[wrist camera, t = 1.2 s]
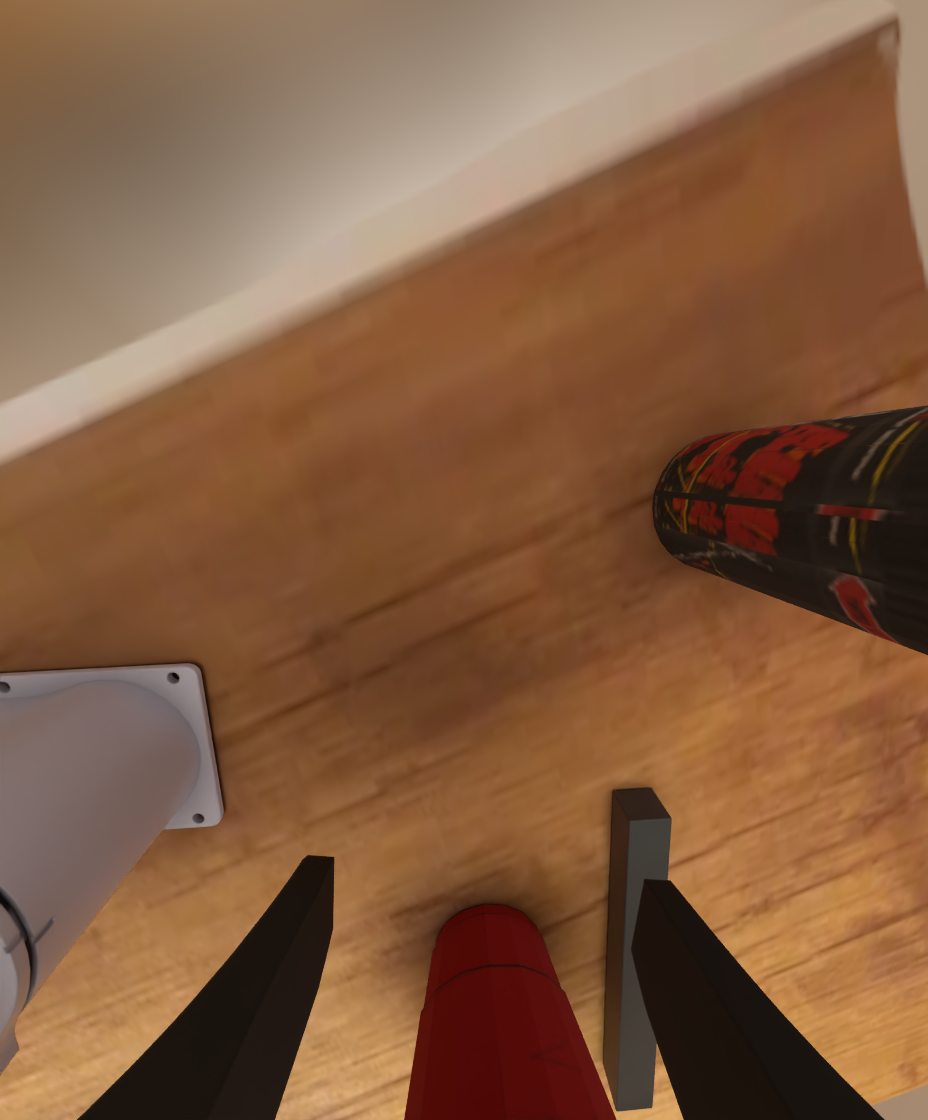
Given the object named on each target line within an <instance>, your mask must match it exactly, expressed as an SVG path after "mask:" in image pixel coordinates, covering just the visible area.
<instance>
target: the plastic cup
mask: <svg viewBox="0 0 928 1120" xmlns="http://www.w3.org/2000/svg"><path fill="white" fill-rule="evenodd" d="M404 1120H616V1117H615V1115H614V1112H613V1110H612V1108H611V1105H610V1103H609V1100H608V1098H607V1095H606V1093H605V1090H604V1088H603V1085H602V1083H601V1080H600V1078H599V1075H598V1073H597V1070H596V1068H595V1065H594V1063H593V1060H592V1058H591V1055H590V1053H589V1050H588V1048H587V1045H586V1043H585V1040H584V1038H583V1035H582V1033H581V1030H580V1028H579V1025H578V1023H577V1020H576V1018H575V1016H574V1013H573V1011H572V1008H571V1006H570V1003H569V1001H568V998H567V996H566V993H565V992H564V991H563V990H562V989H561V986H560V983H559V981H558V978H557V975H556V973H555V970H554V967H553V965H552V962H551V959H550V957H549V954H548V951H547V949H546V946H545V943H544V941H543V938H542V936H541V935H540V934H539V933H538V930H537V927H536V925H535V924H534V923H533V922H532V921H531V920H530V919H529V918H528V917H527V916H526V915H525V914H524V913H523V912H520V911H518V910H515V909H513V908H510V907H508V906H505V905H485V904H483V905H480V906H477V907H473V908H470V909H467V910H463V911H462V912H460V913H459V914H458V915H456V916H455V917H454V918H452V919H451V920H449V921H448V922H447V923H446V924H445V926H444V927H443V929H442V931H441V932H440V934H439V935H438V937H437V940H436V946H435V948H434V950H433V952H432V959H431V965H430V972H429V978H428V985H427V991H426V997H425V1004H424V1008H423V1010H422V1011H421V1015H420V1022H419V1028H418V1035H417V1041H416V1047H415V1054H414V1060H413V1067H412V1073H411V1080H410V1086H409V1092H408V1099H407V1105H406V1112H405V1118H404Z"/></svg>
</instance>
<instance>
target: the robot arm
mask: <svg viewBox="0 0 928 1120" xmlns="http://www.w3.org/2000/svg"><path fill="white" fill-rule="evenodd" d="M172 672H173V673H176V674H178V676H179V678H180V679H179V680H178V679H175V678H174V677H173V675H172ZM6 683H7V684H9V686H10V688H9V687H8V686H7V684H6ZM198 814H201V815H203V817H200V816H199V815H198ZM223 815H224V808H223V802H222V796H221V790H220V784H219V778H218V772H217V766H216V760H215V754H214V748H213V742H212V736H211V729H210V723H209V717H208V711H207V705H206V699H205V693H204V687H203V681H202V675H201V671H200V669H199V668H198V667H197V666H196V665H194V664H190V663H183V664H165V665H146V666H127V667H109V668H90V669H72V670H53V671H34V672H16V673H0V1075H1V1074H2V1072H3V1071H4V1069H5V1068H6V1067H7V1065H8V1064H9V1063H10V1061H11V1060H12V1058H13V1057H14V1056H15V1054H16V1053H17V1052H18V1050H19V1046H18V1043H17V1040H16V1037H15V1024H16V1021H17V1019H18V1017H19V1015H20V1014H21V1012H22V1011H23V1010H24V1008H25V1007H26V1006H27V1005H28V1003H29V1002H30V1001H31V999H32V998H33V997H34V995H35V994H36V993H37V992H38V990H39V989H40V988H41V986H42V985H43V984H44V983H45V981H46V980H47V979H48V977H49V976H50V975H51V974H52V972H53V971H54V970H55V968H56V967H57V966H58V965H59V963H60V962H61V961H62V959H63V958H64V957H65V955H66V954H67V953H68V952H69V950H70V949H71V948H72V946H73V945H74V944H75V943H76V941H77V940H78V939H79V937H80V936H81V935H82V934H83V932H84V931H85V930H86V928H87V927H88V926H89V924H90V923H91V922H92V921H93V919H94V918H95V917H96V915H97V914H98V913H99V912H100V910H101V909H102V908H103V906H104V905H105V904H106V903H107V901H108V900H109V899H110V897H111V896H112V895H113V893H114V892H115V891H116V890H117V888H118V887H119V886H120V884H121V883H122V882H123V881H124V879H125V878H126V877H127V875H128V874H129V873H130V872H131V870H132V869H133V868H134V866H135V865H136V864H137V863H138V861H139V860H140V859H141V857H142V856H143V855H144V853H145V852H146V851H147V850H148V848H149V847H150V846H151V844H152V843H153V842H154V841H155V839H156V838H157V837H158V835H159V834H160V833H161V832H162V830H166V829H180V828H194V827H209V826H215V825H217V824H218V823H219V822H220V820H221V819H222V817H223ZM333 902H334V857H326V856H312V855H308V856H306V857H305V858H304V859H303V860H302V861H301V863H300V864H299V866H298V867H297V869H296V870H295V872H294V873H293V875H292V876H291V877H290V879H289V880H288V882H287V883H286V885H285V886H284V887H283V889H282V890H281V891H280V893H279V894H278V896H277V897H276V898H275V900H274V901H273V902H272V904H271V905H270V906H269V908H268V909H267V910H266V912H265V913H264V914H263V916H262V917H261V918H260V919H259V921H258V922H257V923H256V925H255V926H254V927H253V928H252V930H251V931H250V932H249V933H248V935H247V936H246V937H245V938H244V940H243V941H242V942H241V944H240V945H239V946H238V947H237V949H236V950H235V951H234V952H233V954H232V955H231V956H230V957H229V958H228V960H227V961H226V962H225V963H224V964H223V965H222V967H221V968H220V969H219V970H218V971H217V972H216V974H215V975H214V976H213V977H212V978H211V980H210V981H209V982H208V983H207V984H206V985H205V987H204V988H203V989H202V990H201V991H200V992H199V994H198V995H197V996H196V997H195V998H194V999H193V1001H192V1002H191V1003H190V1004H189V1005H188V1006H187V1007H186V1008H185V1009H184V1011H183V1012H182V1013H181V1014H180V1015H179V1016H178V1017H177V1018H176V1019H175V1021H174V1022H173V1023H172V1024H171V1025H170V1026H169V1027H168V1028H167V1029H166V1030H165V1031H164V1032H163V1034H162V1035H161V1036H160V1037H159V1038H158V1039H157V1040H156V1041H155V1042H154V1043H153V1044H152V1045H151V1046H150V1047H149V1048H148V1049H147V1050H146V1051H145V1052H144V1054H143V1055H142V1056H141V1057H140V1058H139V1059H138V1060H137V1061H136V1062H135V1063H134V1064H133V1065H132V1066H131V1067H130V1068H129V1069H128V1070H127V1071H126V1072H125V1073H124V1074H123V1075H122V1076H121V1077H120V1078H119V1079H118V1080H117V1081H116V1082H115V1083H114V1084H113V1085H112V1086H111V1087H110V1088H109V1089H108V1090H107V1091H106V1092H105V1093H104V1094H103V1095H102V1096H101V1097H100V1098H99V1099H98V1100H97V1101H96V1102H95V1103H94V1104H93V1105H92V1106H91V1107H90V1108H89V1109H88V1110H87V1111H86V1112H85V1113H84V1114H82V1115H81V1116H80V1117H79V1118H78V1119H77V1120H275V1118H276V1115H277V1112H278V1109H279V1106H280V1103H281V1100H282V1097H283V1094H284V1091H285V1088H286V1085H287V1082H288V1079H289V1076H290V1073H291V1070H292V1067H293V1064H294V1061H295V1058H296V1055H297V1052H298V1049H299V1046H300V1043H301V1040H302V1037H303V1034H304V1031H305V1028H306V1025H307V1022H308V1019H309V1016H310V1012H311V1009H312V1006H313V1003H314V1000H315V997H316V994H317V991H318V988H319V984H320V980H321V976H322V972H323V968H324V964H325V960H326V956H327V952H328V948H329V944H330V939H331V935H332V931H333ZM631 952H632V956H633V961H634V965H635V969H636V973H637V977H638V982H639V985H640V989H641V993H642V997H643V1001H644V1005H645V1009H646V1012H647V1015H648V1018H649V1021H650V1024H651V1027H652V1030H653V1032H654V1035H655V1038H656V1041H657V1044H658V1047H659V1050H660V1053H661V1056H662V1059H663V1062H664V1065H665V1067H666V1070H667V1073H668V1076H669V1079H670V1082H671V1085H672V1088H673V1090H674V1093H675V1096H676V1099H677V1102H678V1105H679V1108H680V1111H681V1113H682V1116H683V1119H684V1120H884V1119H883V1118H882V1117H881V1116H880V1115H879V1114H878V1113H877V1112H876V1111H875V1110H874V1109H873V1108H872V1107H871V1106H870V1105H869V1104H868V1103H867V1102H866V1101H865V1100H864V1099H863V1098H862V1097H861V1096H860V1095H859V1094H858V1093H857V1092H856V1091H855V1090H854V1089H853V1088H852V1087H851V1086H850V1085H849V1084H848V1083H847V1082H846V1081H845V1080H844V1079H843V1078H842V1077H841V1076H840V1075H839V1074H838V1073H837V1072H836V1070H835V1069H834V1068H833V1067H832V1066H831V1065H830V1064H829V1063H828V1062H827V1061H826V1060H825V1059H824V1058H823V1057H822V1056H821V1055H820V1054H819V1053H818V1052H817V1051H816V1050H815V1048H814V1047H813V1046H812V1045H811V1044H810V1043H809V1042H808V1041H807V1040H806V1039H805V1038H804V1037H803V1035H802V1034H801V1033H800V1032H799V1031H798V1030H797V1029H796V1028H795V1027H794V1026H793V1025H792V1024H791V1022H790V1021H789V1020H788V1019H787V1018H786V1017H785V1016H784V1015H783V1014H782V1013H781V1012H780V1010H779V1009H778V1008H777V1007H776V1006H775V1005H774V1004H773V1002H772V1001H771V1000H770V999H769V998H768V997H767V996H766V995H765V993H764V992H763V991H762V990H761V989H760V988H759V986H758V985H757V984H756V983H755V982H754V981H753V979H752V978H751V977H750V976H749V975H748V974H747V972H746V971H745V970H744V969H743V968H742V967H741V965H740V964H739V963H738V962H737V961H736V960H735V958H734V957H733V956H732V955H731V954H730V952H729V951H728V950H727V949H726V948H725V946H724V945H723V944H722V943H721V942H720V940H719V939H718V938H717V937H716V936H715V934H714V933H713V932H712V931H711V929H710V928H709V927H708V926H707V925H706V923H705V922H704V921H703V920H702V918H701V917H700V916H699V915H698V914H697V912H696V911H695V910H694V909H693V907H692V906H691V905H690V904H689V903H688V901H687V900H686V899H685V898H684V896H683V895H682V894H681V893H680V892H679V890H678V889H677V888H676V887H675V886H674V884H673V883H672V882H671V881H669V880H654V879H644V883H643V888H642V893H641V898H640V904H639V909H638V914H637V919H636V924H635V930H634V935H633V940H632V945H631Z"/></svg>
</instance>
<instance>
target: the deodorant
mask: <svg viewBox="0 0 928 1120" xmlns="http://www.w3.org/2000/svg"><path fill="white" fill-rule="evenodd" d="M653 516H654V526H655V528H656V531H657V533H658V536H659V538H660V541H661V542H662V543H663V545H664V546H665V547H666V549H667V550H668V551H669V552H670V554H671V555H673V556H674V557H676V558H677V559H678V560H680V561H681V562H683V563H684V564H687V565H690V566H692V567H695V568H698V569H700V570H703V571H706V572H708V573H711V574H714V575H716V576H719V577H722V578H724V579H727V580H729V581H732V582H735V583H737V584H740V585H743V586H745V587H748V588H751V589H753V590H756V591H759V592H761V593H764V594H767V595H769V596H772V597H775V598H777V599H780V600H783V601H785V602H788V603H791V604H793V605H796V606H799V607H801V608H804V609H807V610H809V611H812V612H815V613H817V614H820V615H823V616H825V617H828V618H831V619H833V620H836V621H839V622H841V623H844V624H846V625H849V626H852V627H854V628H857V629H860V630H862V631H865V632H868V633H870V634H873V635H876V636H878V637H881V638H884V639H886V640H889V641H892V642H894V643H897V644H900V645H902V646H905V647H908V648H910V649H913V650H916V651H918V652H921V653H924V654H926V655H928V406H921V407H914V408H906V409H899V410H892V411H884V412H877V413H870V414H862V415H855V416H848V417H840V418H833V419H825V420H818V421H811V422H803V423H796V424H789V425H781V426H774V427H767V428H759V429H752V430H744V431H737V432H730V433H722V434H717V435H712V436H707V437H704V438H702V439H700V440H698V441H696V442H694V443H692V444H690V445H688V446H687V447H685V448H684V449H683V450H682V451H681V452H680V453H678V454H677V455H676V456H675V457H674V458H673V459H672V460H671V462H670V463H669V465H668V466H667V467H666V469H665V470H664V471H663V473H662V475H661V478H660V480H659V482H658V485H657V487H656V490H655V495H654V502H653Z"/></svg>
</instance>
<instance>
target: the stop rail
mask: <svg viewBox="0 0 928 1120" xmlns="http://www.w3.org/2000/svg"><path fill="white" fill-rule="evenodd" d="M670 834H671V817H670V815H669V814H668V812H667V811H666V809H665V808H664V806H663V805H662V803H661V802H660V800H659V799H658V797H657V796H656V794H655V793H654V791H653V790H652V788H646V789H631V790H617V791H613V803H612V831H611V859H610V887H609V915H608V943H607V971H606V998H605V1026H604V1054H603V1065H604V1069H605V1073H606V1076H607V1080H608V1084H609V1087H610V1091H611V1094H612V1098H613V1102H614V1105H615V1109H616V1111H627V1110H637V1109H647V1108H652V1105H653V1090H654V1075H655V1060H656V1045H657V1041H656V1038H655V1035H654V1032H653V1030H652V1027H651V1024H650V1021H649V1018H648V1015H647V1012H646V1009H645V1005H644V1001H643V997H642V993H641V989H640V985H639V982H638V977H637V973H636V969H635V965H634V961H633V956H632V952H631V945H632V940H633V935H634V930H635V924H636V919H637V914H638V909H639V904H640V898H641V893H642V888H643V883H644V879H654V880H667V879H668V864H669V849H670Z"/></svg>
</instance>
